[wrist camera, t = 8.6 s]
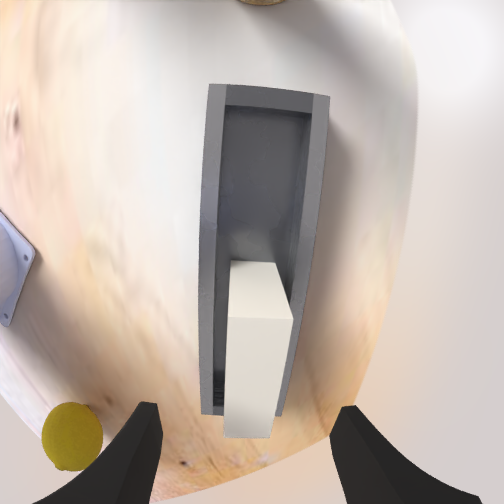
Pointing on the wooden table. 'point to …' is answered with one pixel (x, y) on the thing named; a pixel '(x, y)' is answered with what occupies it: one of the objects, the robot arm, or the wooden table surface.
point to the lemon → (72, 436)
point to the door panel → (254, 348)
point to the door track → (256, 209)
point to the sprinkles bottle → (262, 2)
